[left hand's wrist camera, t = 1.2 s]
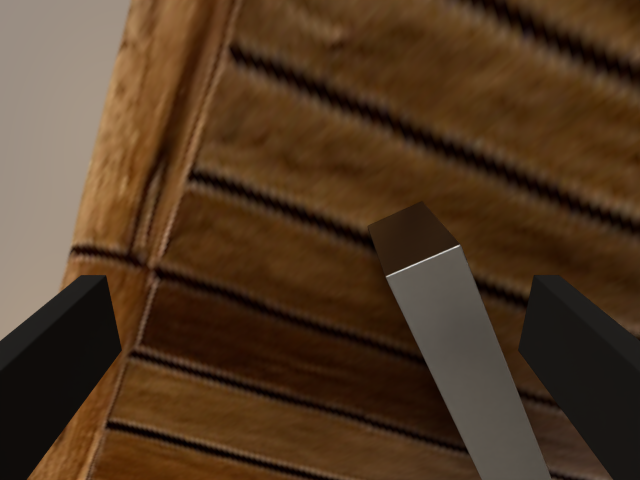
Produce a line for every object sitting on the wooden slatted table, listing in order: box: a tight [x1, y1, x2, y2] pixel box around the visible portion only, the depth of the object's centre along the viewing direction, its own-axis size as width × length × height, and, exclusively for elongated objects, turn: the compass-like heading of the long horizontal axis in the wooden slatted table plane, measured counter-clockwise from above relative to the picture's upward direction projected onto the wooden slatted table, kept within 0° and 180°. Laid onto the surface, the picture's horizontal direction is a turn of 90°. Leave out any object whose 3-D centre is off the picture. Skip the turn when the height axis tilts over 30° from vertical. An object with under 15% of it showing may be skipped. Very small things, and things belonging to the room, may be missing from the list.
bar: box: [368, 202, 552, 480], centre depth 31 cm, size 25×4×9 cm, turn 26°
